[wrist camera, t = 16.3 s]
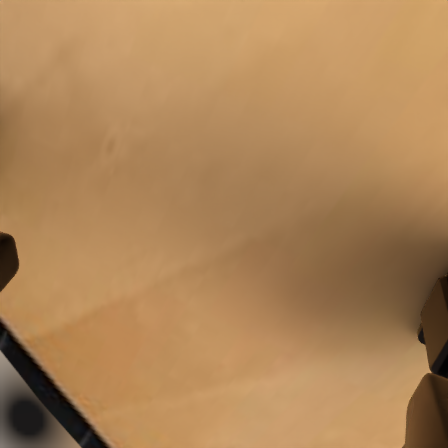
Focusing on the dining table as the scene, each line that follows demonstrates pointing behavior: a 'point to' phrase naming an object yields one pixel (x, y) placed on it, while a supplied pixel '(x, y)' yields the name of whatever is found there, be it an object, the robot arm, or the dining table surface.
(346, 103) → the dining table surface
